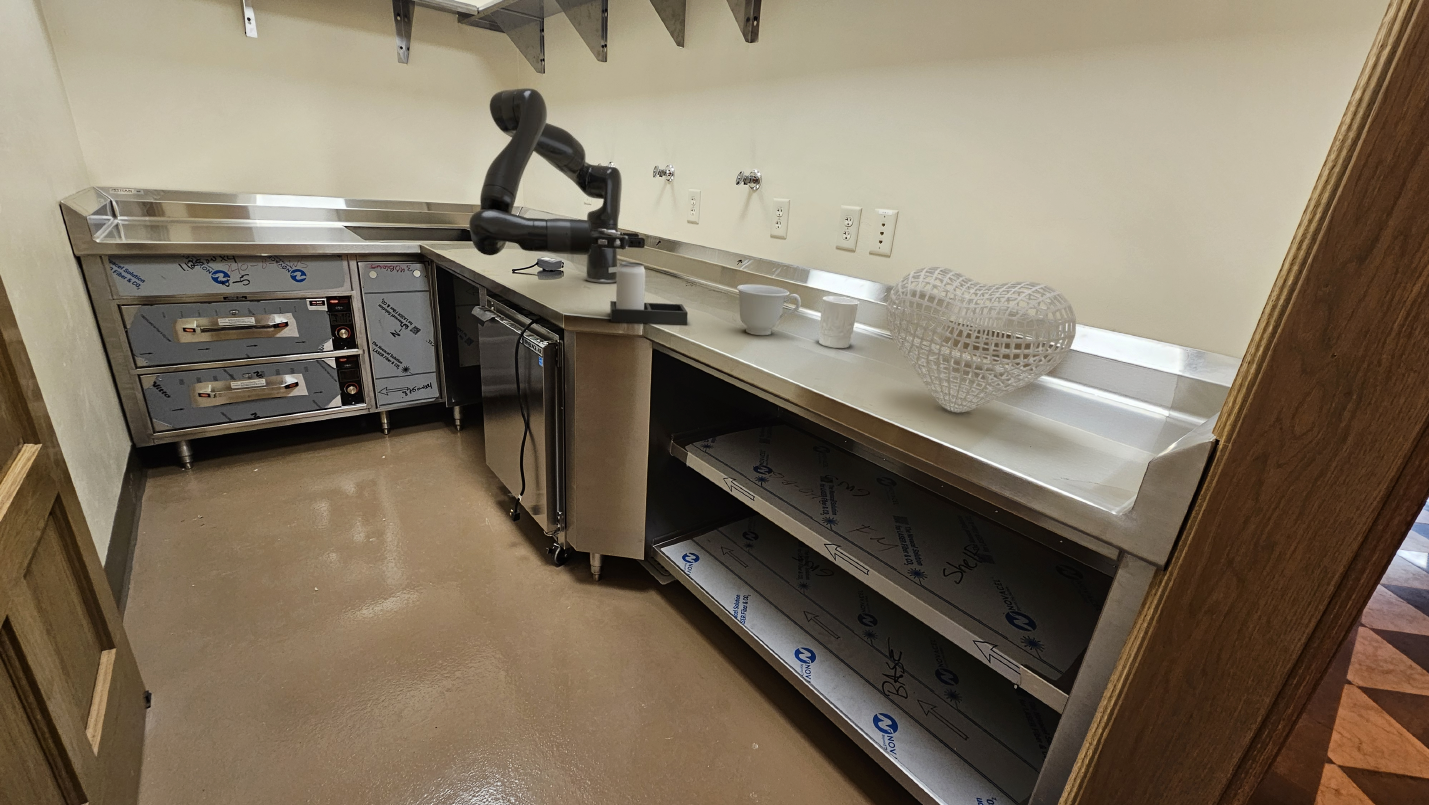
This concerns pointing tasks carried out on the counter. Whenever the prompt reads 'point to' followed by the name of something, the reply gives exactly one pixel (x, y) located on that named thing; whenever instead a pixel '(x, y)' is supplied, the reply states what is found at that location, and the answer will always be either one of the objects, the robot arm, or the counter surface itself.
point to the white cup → (837, 321)
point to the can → (630, 286)
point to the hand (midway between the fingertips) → (641, 240)
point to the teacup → (763, 307)
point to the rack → (650, 314)
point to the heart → (992, 289)
